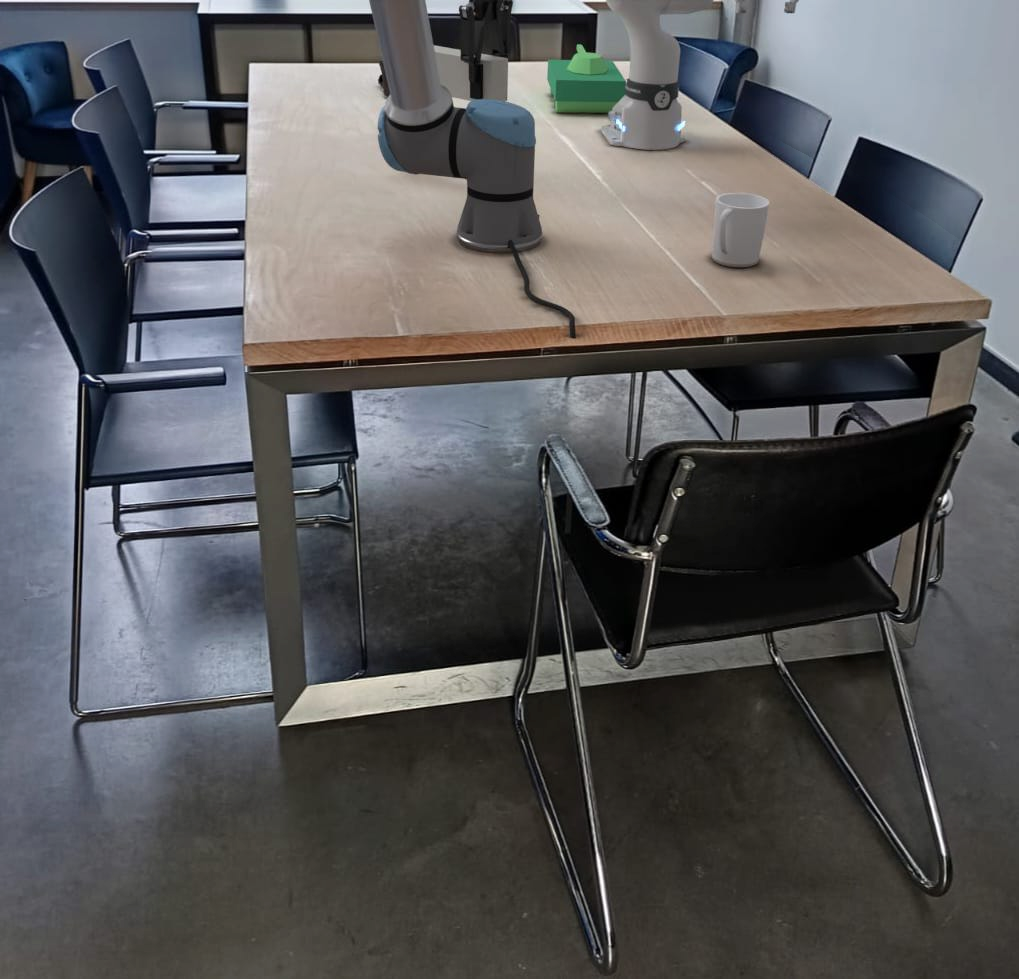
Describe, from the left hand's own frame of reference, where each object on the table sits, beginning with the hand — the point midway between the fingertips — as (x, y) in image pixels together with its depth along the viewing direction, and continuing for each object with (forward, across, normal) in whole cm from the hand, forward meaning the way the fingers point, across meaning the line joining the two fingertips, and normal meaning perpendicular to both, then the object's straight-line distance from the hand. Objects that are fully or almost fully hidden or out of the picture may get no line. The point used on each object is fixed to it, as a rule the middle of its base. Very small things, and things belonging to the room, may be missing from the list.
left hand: (485, 96), depth 216 cm
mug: (+18, +7, +61) cm, 64 cm away
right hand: (-17, -28, +44) cm, 55 cm away
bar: (+1, 0, -10) cm, 10 cm away
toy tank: (+18, -79, -31) cm, 87 cm away
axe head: (+18, -55, -74) cm, 94 cm away
